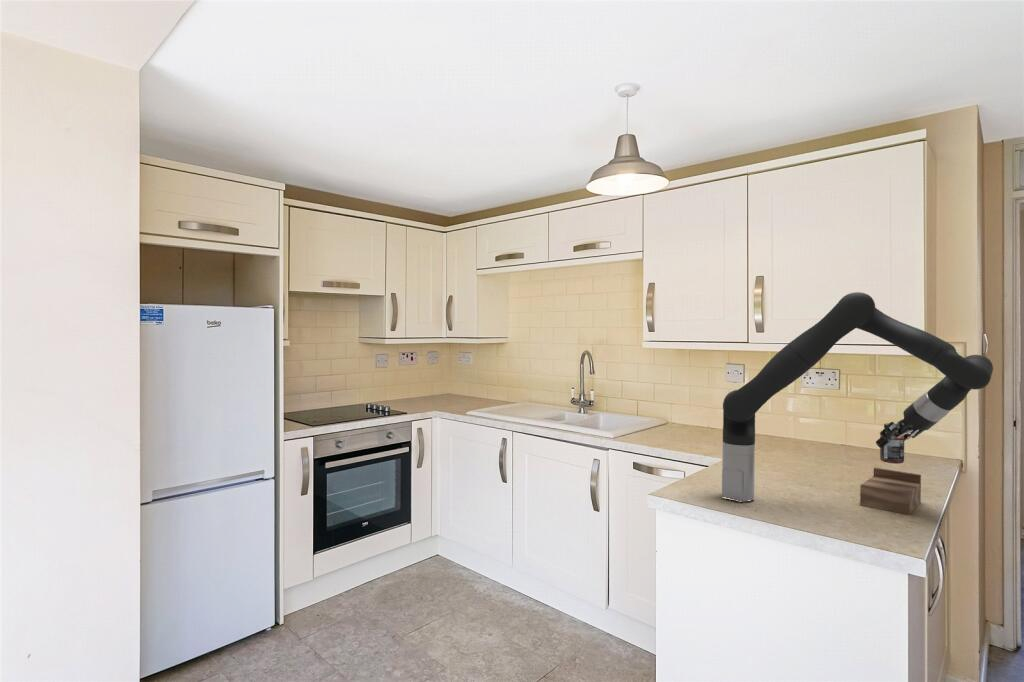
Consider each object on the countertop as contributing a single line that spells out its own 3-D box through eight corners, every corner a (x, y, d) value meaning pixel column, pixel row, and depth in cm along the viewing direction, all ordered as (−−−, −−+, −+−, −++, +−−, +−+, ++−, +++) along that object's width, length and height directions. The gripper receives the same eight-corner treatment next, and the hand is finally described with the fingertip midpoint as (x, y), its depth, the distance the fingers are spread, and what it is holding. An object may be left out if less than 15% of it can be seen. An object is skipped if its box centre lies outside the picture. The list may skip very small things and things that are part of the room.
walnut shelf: (908, 514, 156) (909, 484, 156) (860, 505, 164) (860, 476, 164) (920, 502, 167) (921, 474, 167) (874, 494, 175) (874, 467, 175)
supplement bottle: (881, 458, 169) (881, 421, 169) (904, 461, 166) (905, 423, 165) (878, 462, 165) (879, 424, 165) (903, 465, 161) (903, 426, 161)
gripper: (935, 399, 160) (894, 433, 172) (899, 400, 156) (860, 435, 167) (955, 420, 155) (911, 453, 167) (918, 422, 151) (877, 456, 162)
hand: (886, 444), depth 167 cm, fingers closed on supplement bottle, 6 cm apart
